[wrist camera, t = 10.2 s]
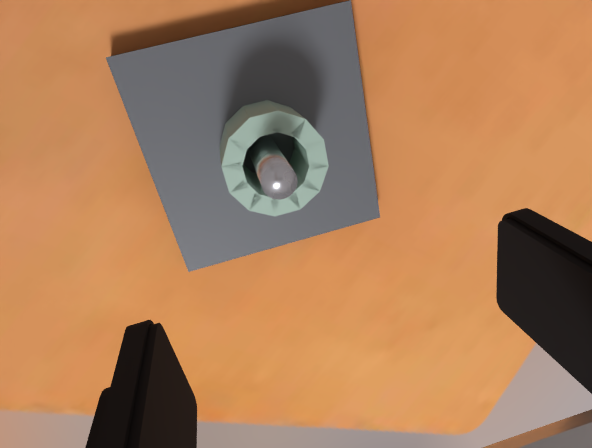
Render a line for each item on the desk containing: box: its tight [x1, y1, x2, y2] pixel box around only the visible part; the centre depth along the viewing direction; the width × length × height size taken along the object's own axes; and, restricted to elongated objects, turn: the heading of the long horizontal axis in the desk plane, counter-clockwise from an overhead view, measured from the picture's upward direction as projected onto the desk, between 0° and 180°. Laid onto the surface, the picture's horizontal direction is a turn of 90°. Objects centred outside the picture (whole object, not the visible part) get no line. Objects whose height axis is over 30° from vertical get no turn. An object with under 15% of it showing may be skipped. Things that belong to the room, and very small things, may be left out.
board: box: [106, 0, 380, 272], centre depth 30 cm, size 16×16×2 cm
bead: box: [219, 100, 329, 216], centre depth 27 cm, size 6×6×5 cm
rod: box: [248, 135, 298, 200], centre depth 26 cm, size 2×2×8 cm
